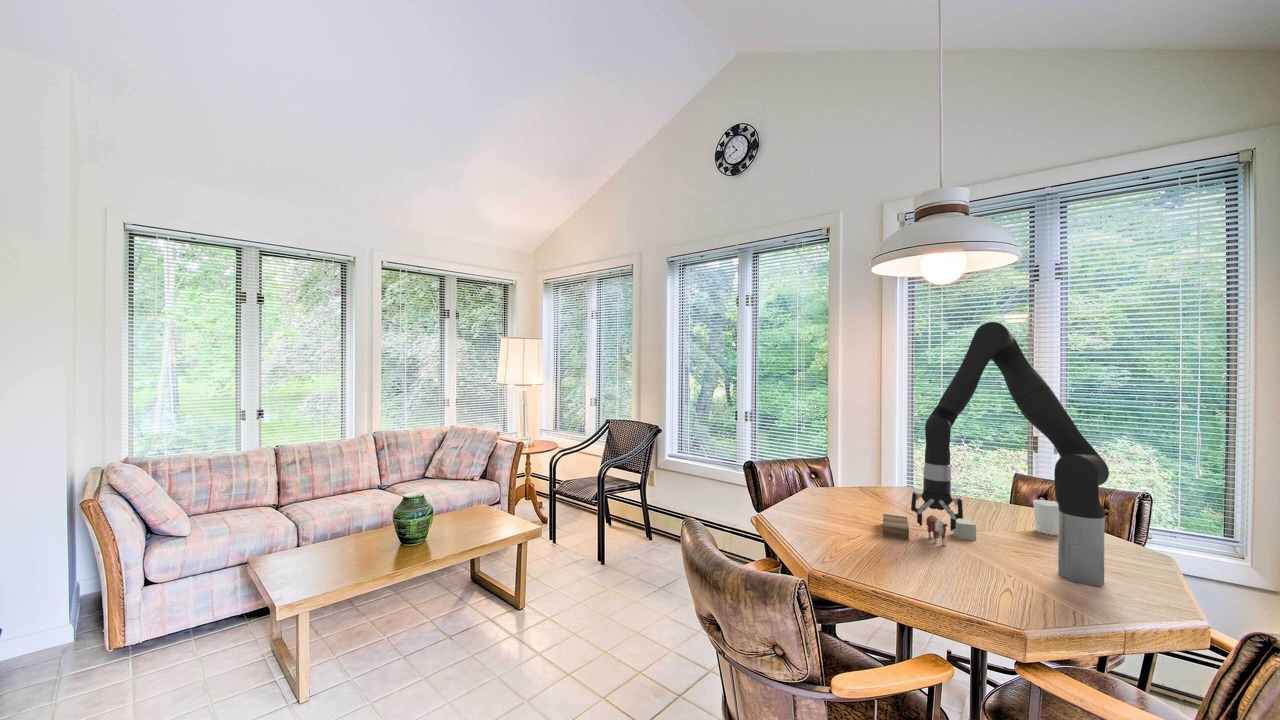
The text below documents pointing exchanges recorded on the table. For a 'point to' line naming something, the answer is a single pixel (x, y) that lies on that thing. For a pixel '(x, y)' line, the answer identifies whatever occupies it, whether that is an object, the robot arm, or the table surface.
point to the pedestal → (895, 527)
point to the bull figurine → (936, 529)
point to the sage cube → (965, 529)
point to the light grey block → (1046, 516)
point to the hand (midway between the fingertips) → (936, 527)
